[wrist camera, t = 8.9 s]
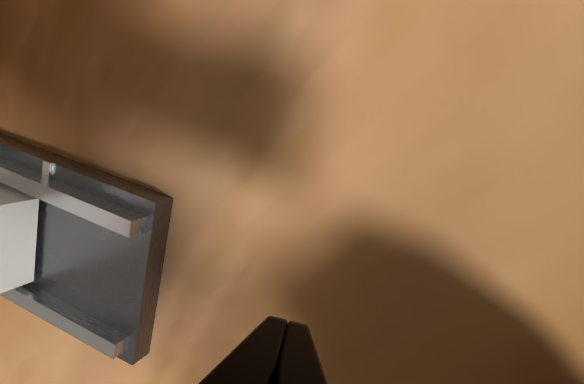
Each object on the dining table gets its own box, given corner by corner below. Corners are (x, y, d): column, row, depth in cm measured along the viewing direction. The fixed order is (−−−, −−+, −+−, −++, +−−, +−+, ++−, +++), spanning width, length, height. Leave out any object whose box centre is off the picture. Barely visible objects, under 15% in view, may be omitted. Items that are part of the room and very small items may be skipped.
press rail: (173, 198, 24) (114, 214, 20) (148, 353, 27) (92, 395, 22) (-23, 125, 30) (-100, 125, 25) (-26, 258, 32) (-96, 278, 28)
